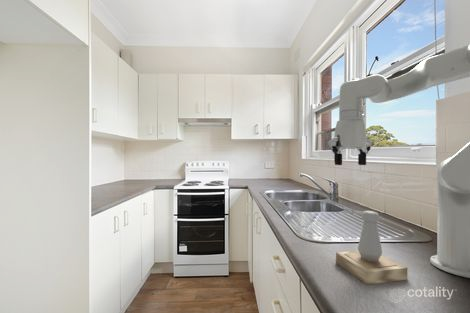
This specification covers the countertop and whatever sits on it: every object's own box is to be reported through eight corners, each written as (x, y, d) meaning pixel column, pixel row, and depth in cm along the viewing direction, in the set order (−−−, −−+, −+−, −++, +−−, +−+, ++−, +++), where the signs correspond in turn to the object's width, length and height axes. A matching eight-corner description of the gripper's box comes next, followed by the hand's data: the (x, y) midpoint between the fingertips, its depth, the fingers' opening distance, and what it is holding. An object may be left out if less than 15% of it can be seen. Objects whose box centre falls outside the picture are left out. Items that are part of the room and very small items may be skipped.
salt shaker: (385, 264, 61) (386, 214, 61) (361, 262, 62) (362, 213, 62) (376, 255, 67) (377, 209, 67) (355, 253, 68) (355, 208, 68)
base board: (370, 259, 71) (371, 248, 71) (407, 279, 60) (407, 267, 60) (336, 262, 69) (336, 251, 69) (366, 284, 57) (367, 271, 57)
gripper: (363, 119, 89) (363, 164, 89) (322, 117, 85) (322, 164, 85) (379, 116, 82) (379, 165, 82) (335, 114, 78) (335, 165, 78)
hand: (350, 164), depth 83 cm, fingers open, 9 cm apart
